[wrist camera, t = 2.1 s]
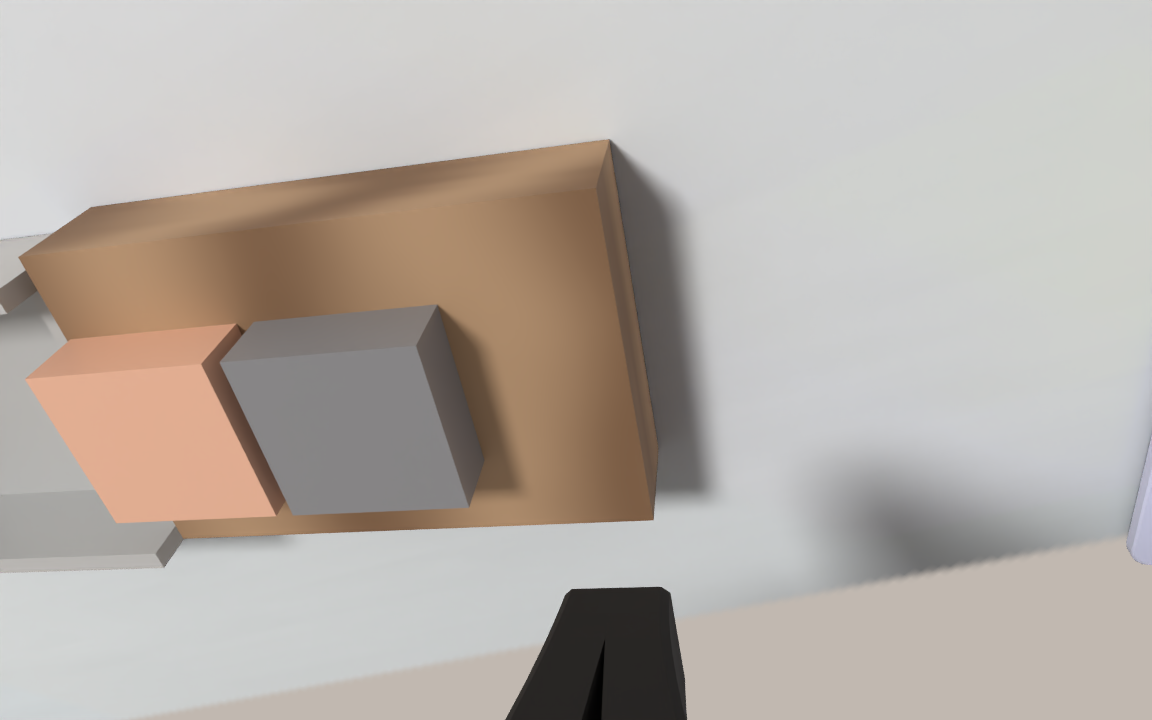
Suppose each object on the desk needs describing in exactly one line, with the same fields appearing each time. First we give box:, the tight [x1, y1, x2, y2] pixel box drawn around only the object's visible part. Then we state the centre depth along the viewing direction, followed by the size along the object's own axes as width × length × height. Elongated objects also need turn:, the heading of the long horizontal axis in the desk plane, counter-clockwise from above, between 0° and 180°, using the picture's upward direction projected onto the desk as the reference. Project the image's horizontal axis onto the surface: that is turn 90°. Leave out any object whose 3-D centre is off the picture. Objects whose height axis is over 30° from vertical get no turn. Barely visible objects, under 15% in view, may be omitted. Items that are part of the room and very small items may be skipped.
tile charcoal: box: [219, 304, 485, 516], centre depth 18 cm, size 4×4×2 cm
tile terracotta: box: [25, 324, 286, 523], centre depth 18 cm, size 4×4×2 cm
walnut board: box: [18, 139, 658, 539], centre depth 19 cm, size 12×8×2 cm, turn 101°
